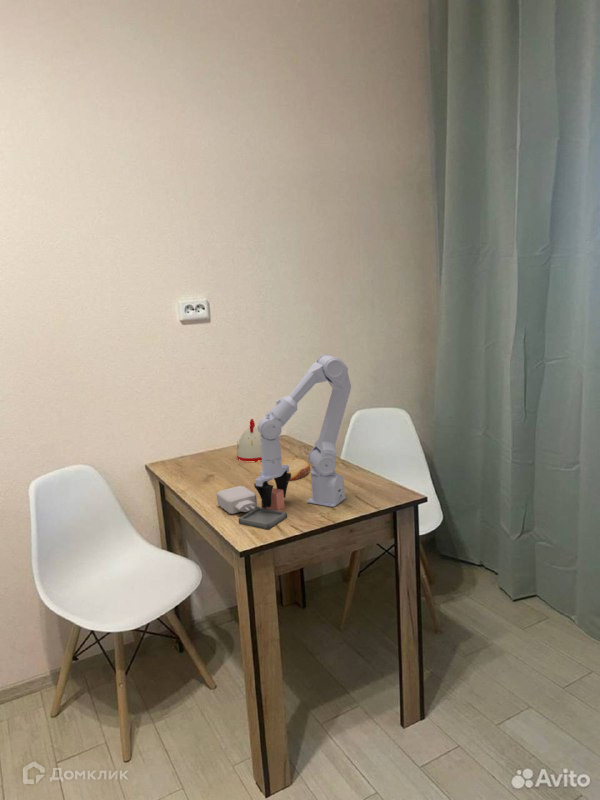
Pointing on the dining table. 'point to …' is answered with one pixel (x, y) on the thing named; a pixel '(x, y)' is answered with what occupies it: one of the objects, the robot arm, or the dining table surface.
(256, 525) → the tray
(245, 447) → the kitchen timer
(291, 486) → the dining table surface
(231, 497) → the charger
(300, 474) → the bread slice
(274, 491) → the salmon gift carton
